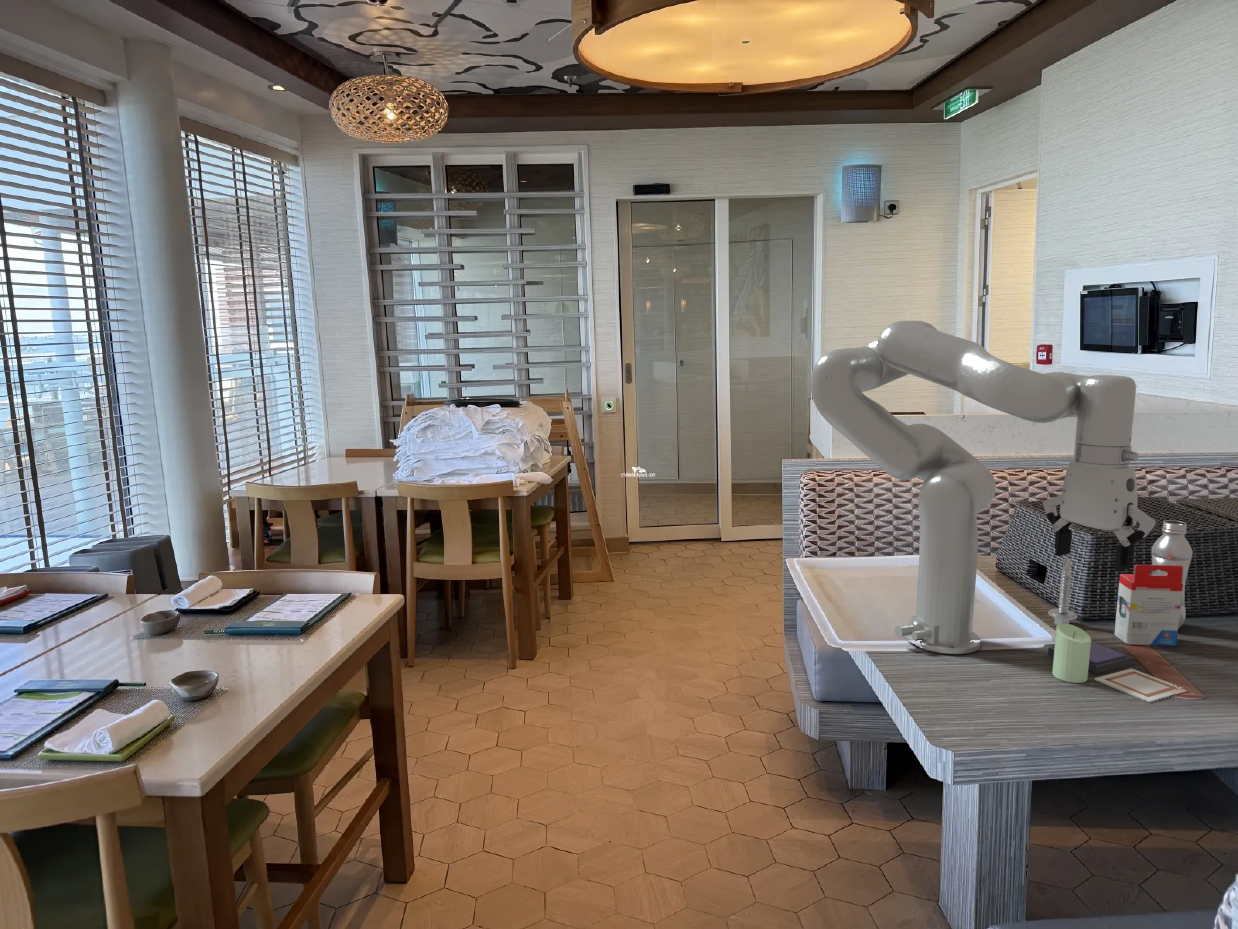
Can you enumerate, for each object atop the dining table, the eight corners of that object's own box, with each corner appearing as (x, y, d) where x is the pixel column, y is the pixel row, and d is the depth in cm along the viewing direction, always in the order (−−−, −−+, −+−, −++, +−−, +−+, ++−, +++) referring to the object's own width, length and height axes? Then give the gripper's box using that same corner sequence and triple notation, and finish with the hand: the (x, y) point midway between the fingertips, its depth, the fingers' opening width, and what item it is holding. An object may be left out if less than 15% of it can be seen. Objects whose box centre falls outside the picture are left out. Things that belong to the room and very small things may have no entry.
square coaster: (1149, 702, 127) (1150, 700, 127) (1094, 680, 135) (1094, 677, 135) (1187, 691, 131) (1187, 689, 131) (1131, 670, 139) (1131, 667, 139)
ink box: (1162, 636, 153) (1170, 558, 151) (1177, 646, 149) (1186, 566, 146) (1112, 635, 154) (1120, 557, 152) (1126, 645, 149) (1134, 565, 147)
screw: (1081, 629, 157) (1054, 628, 157) (1068, 619, 162) (1042, 619, 162) (1087, 561, 155) (1060, 561, 155) (1074, 554, 160) (1048, 554, 160)
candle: (1094, 679, 135) (1098, 630, 134) (1075, 686, 133) (1079, 636, 131) (1064, 668, 140) (1068, 620, 138) (1045, 674, 137) (1049, 626, 136)
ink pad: (1096, 673, 137) (1097, 665, 137) (1047, 654, 145) (1048, 645, 145) (1132, 664, 141) (1133, 655, 141) (1083, 645, 149) (1084, 637, 149)
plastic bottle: (1183, 624, 159) (1195, 521, 156) (1184, 635, 154) (1196, 528, 150) (1143, 618, 163) (1154, 516, 159) (1143, 629, 157) (1154, 524, 154)
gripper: (1173, 460, 126) (1161, 571, 129) (1062, 446, 141) (1054, 546, 143) (1145, 465, 122) (1134, 579, 125) (1034, 450, 137) (1026, 552, 140)
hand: (1091, 561), depth 134 cm, fingers open, 9 cm apart
